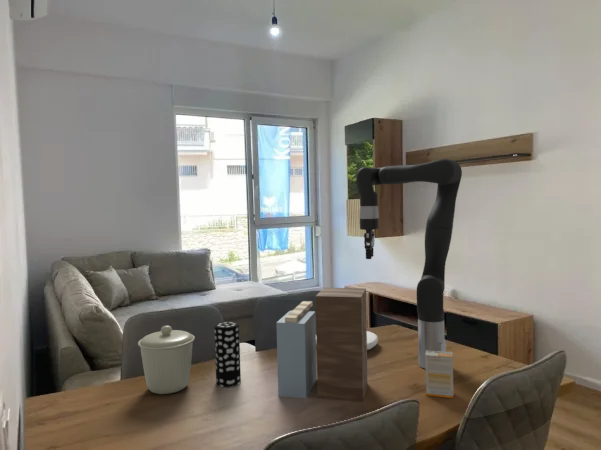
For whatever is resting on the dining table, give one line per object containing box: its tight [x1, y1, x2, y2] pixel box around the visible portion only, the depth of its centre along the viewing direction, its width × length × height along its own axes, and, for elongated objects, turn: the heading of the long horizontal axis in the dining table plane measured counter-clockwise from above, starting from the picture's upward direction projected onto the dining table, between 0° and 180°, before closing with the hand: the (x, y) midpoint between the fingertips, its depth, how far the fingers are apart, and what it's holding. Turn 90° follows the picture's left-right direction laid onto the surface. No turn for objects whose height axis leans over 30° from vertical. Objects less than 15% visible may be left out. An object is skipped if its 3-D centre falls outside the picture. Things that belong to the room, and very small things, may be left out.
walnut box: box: [315, 287, 368, 403], centre depth 145 cm, size 14×14×32 cm
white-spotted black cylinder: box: [213, 320, 242, 388], centre depth 155 cm, size 8×8×20 cm
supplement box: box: [425, 350, 454, 399], centre depth 141 cm, size 8×5×13 cm, turn 71°
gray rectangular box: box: [275, 310, 317, 399], centre depth 149 cm, size 16×9×24 cm, turn 166°
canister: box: [137, 325, 195, 395], centre depth 151 cm, size 18×18×21 cm
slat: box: [285, 300, 314, 323], centre depth 153 cm, size 24×4×2 cm, turn 166°
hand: (369, 257), depth 182 cm, fingers open, 8 cm apart
